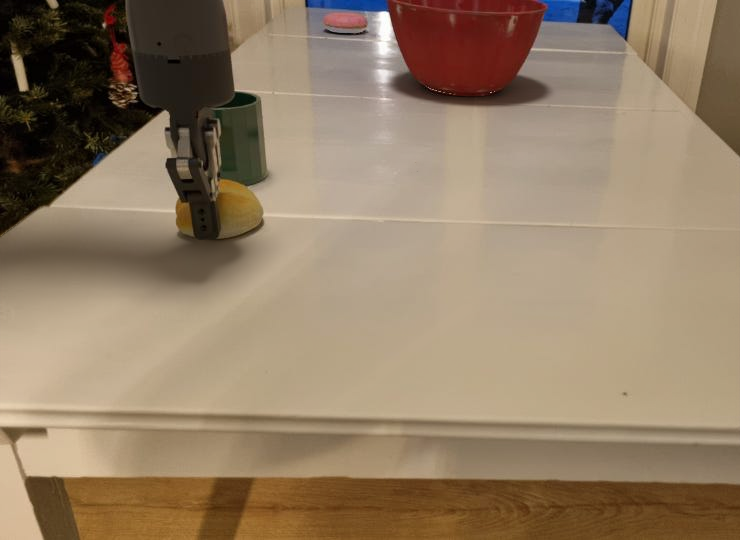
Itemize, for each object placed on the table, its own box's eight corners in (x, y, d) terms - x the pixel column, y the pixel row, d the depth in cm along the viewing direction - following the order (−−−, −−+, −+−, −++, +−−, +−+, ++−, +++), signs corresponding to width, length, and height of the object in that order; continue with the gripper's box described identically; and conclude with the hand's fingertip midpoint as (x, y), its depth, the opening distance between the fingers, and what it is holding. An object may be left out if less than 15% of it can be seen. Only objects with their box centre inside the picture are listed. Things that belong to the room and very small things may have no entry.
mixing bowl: (536, 75, 143) (544, -7, 136) (543, 113, 117) (553, 14, 110) (395, 67, 143) (396, -16, 136) (372, 102, 117) (371, 2, 110)
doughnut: (370, 29, 181) (370, 11, 179) (365, 36, 171) (364, 18, 169) (327, 26, 181) (326, 9, 179) (319, 34, 171) (318, 15, 169)
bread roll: (178, 246, 67) (172, 207, 65) (177, 210, 74) (171, 174, 72) (269, 237, 70) (265, 199, 68) (259, 203, 77) (255, 168, 75)
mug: (281, 172, 86) (276, 98, 82) (231, 193, 79) (222, 113, 75) (211, 154, 90) (202, 82, 86) (157, 171, 84) (145, 95, 80)
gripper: (150, 29, 63) (178, 210, 71) (110, 58, 52) (149, 270, 60) (238, 31, 65) (256, 208, 73) (218, 59, 53) (242, 266, 61)
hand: (208, 235), depth 66 cm, fingers closed
